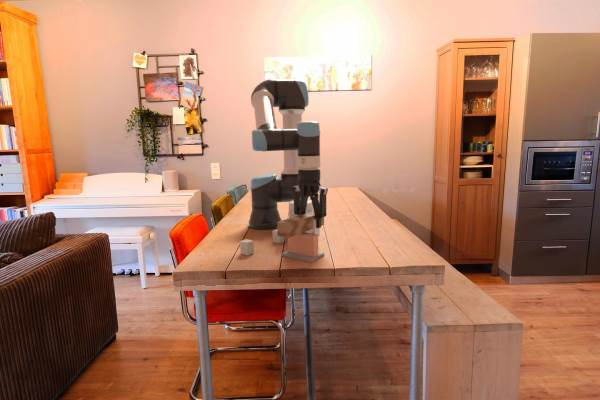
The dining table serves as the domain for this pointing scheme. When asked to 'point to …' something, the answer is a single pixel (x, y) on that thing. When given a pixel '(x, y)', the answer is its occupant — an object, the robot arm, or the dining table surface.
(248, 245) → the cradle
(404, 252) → the dining table surface
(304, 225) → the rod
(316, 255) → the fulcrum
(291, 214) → the supplement tub
